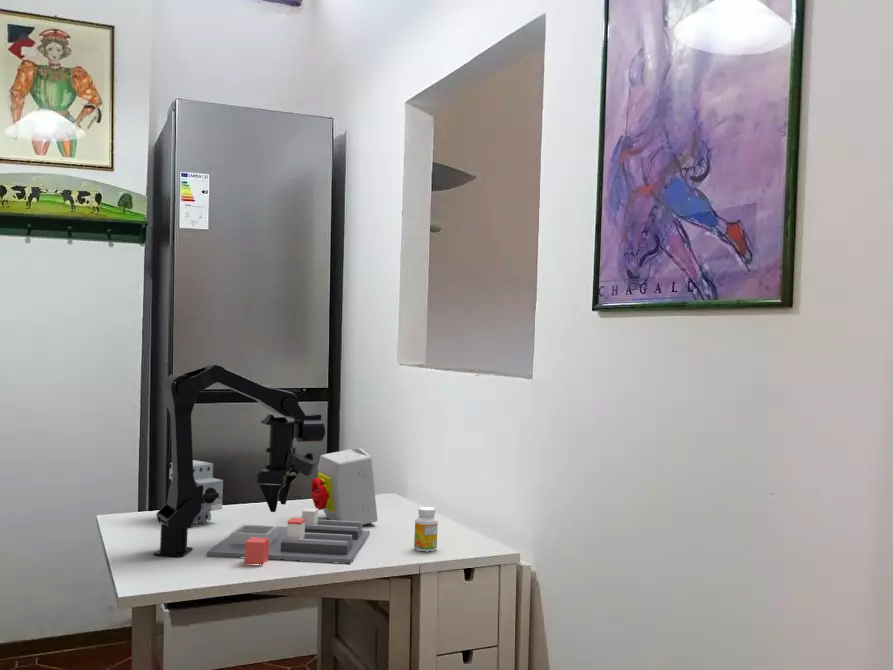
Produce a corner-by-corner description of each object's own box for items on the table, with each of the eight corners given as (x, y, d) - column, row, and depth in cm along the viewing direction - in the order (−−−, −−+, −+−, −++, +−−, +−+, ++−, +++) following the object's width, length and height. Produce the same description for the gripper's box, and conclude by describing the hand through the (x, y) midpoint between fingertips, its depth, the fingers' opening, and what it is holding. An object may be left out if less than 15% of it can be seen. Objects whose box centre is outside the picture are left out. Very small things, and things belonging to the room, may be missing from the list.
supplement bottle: (410, 547, 193) (412, 506, 193) (432, 545, 195) (433, 505, 195) (418, 552, 188) (419, 511, 188) (439, 551, 190) (441, 510, 190)
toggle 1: (300, 541, 182) (301, 522, 182) (286, 540, 182) (287, 521, 182) (304, 537, 186) (305, 518, 186) (291, 536, 186) (292, 517, 186)
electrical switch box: (306, 526, 219) (299, 453, 218) (358, 514, 226) (350, 444, 225) (324, 539, 206) (316, 461, 205) (378, 526, 213) (370, 451, 212)
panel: (350, 564, 176) (351, 546, 176) (207, 556, 178) (207, 538, 178) (369, 535, 203) (370, 519, 203) (244, 528, 205) (245, 513, 205)
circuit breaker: (200, 529, 202) (203, 469, 203) (167, 520, 211) (169, 462, 211) (225, 524, 208) (227, 466, 209) (192, 515, 217) (194, 459, 217)
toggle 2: (313, 527, 196) (314, 511, 196) (301, 526, 196) (302, 511, 196) (317, 523, 200) (318, 508, 200) (305, 523, 200) (306, 507, 200)
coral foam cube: (263, 566, 172) (264, 542, 172) (244, 565, 172) (245, 541, 172) (268, 561, 176) (269, 538, 176) (250, 560, 176) (251, 537, 176)
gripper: (305, 449, 184) (302, 518, 184) (322, 440, 203) (319, 502, 203) (257, 447, 185) (254, 515, 185) (278, 438, 204) (276, 500, 203)
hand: (278, 508), depth 194 cm, fingers open, 9 cm apart
